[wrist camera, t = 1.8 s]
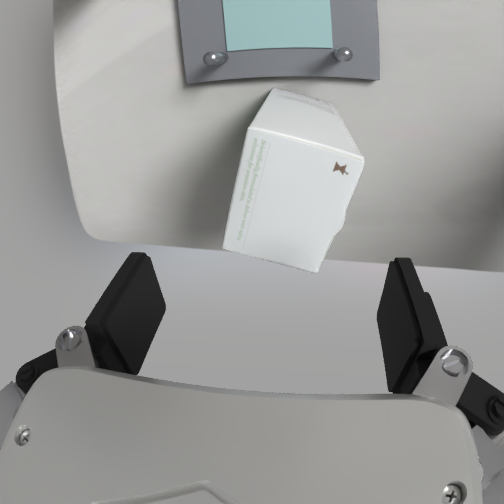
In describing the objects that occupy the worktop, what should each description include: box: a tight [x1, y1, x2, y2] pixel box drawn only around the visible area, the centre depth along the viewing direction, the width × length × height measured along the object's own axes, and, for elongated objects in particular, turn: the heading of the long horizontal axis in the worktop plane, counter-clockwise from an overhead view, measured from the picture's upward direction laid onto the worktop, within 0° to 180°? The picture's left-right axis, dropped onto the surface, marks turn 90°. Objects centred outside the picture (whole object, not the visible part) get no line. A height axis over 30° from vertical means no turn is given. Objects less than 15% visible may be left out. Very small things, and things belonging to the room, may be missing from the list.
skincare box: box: [223, 88, 364, 273], centre depth 23 cm, size 8×7×16 cm
